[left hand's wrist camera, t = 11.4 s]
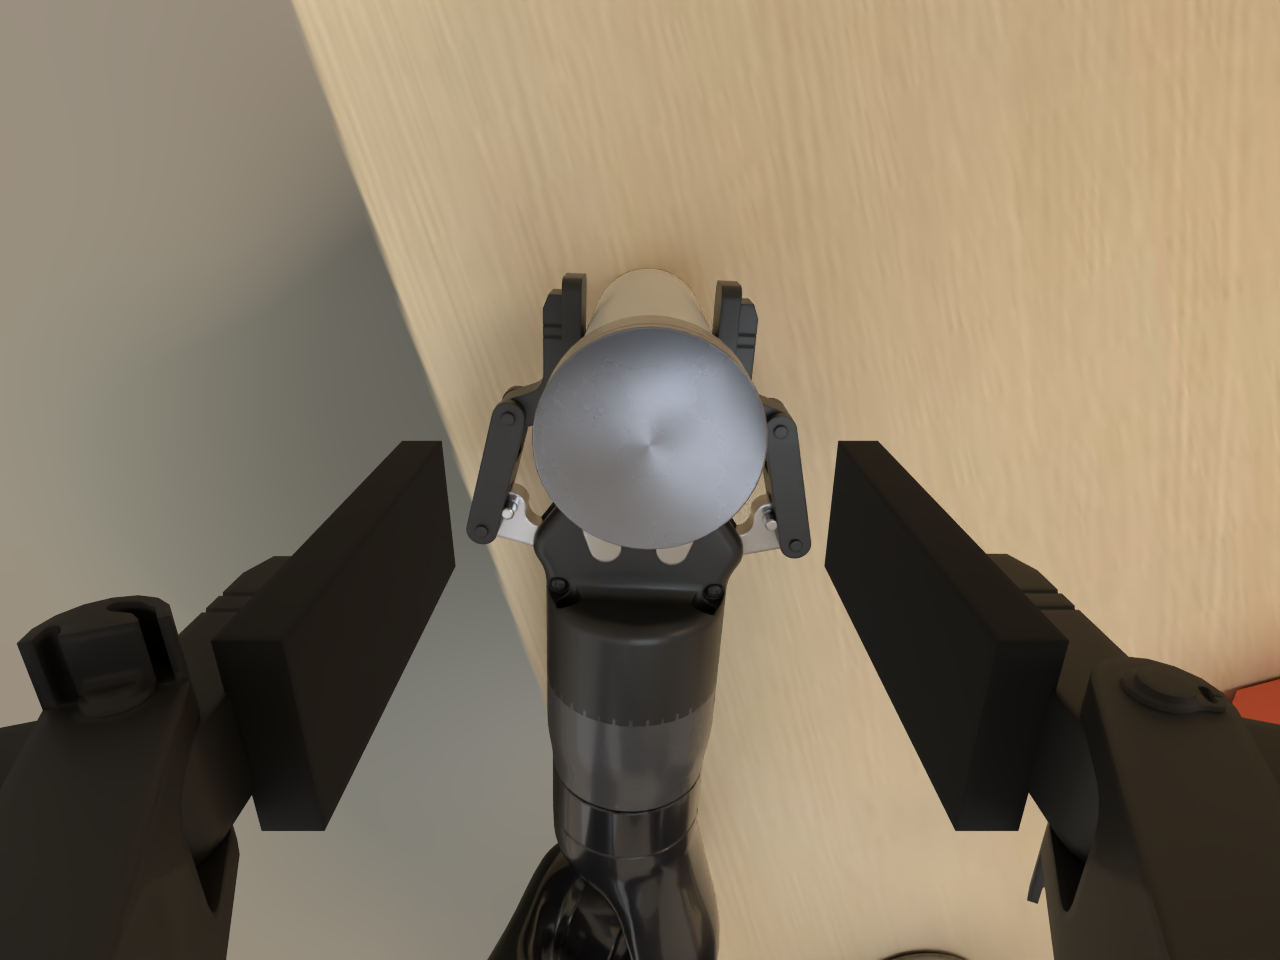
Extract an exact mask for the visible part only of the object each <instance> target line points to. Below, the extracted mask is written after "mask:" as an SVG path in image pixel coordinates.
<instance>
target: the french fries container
mask: <svg viewBox="0 0 1280 960" xmlns="http://www.w3.org/2000/svg"><path fill="white" fill-rule="evenodd" d="M1232 704H1233V705H1234V706H1235V707H1236V708H1237V710H1238V711H1239V713H1240V715H1241V717H1243V718H1249V719H1254V720H1259V721H1264V722H1269V723H1274V724H1280V679H1278V680H1275V681H1271V682H1267V683H1263V684H1259V685H1255V686H1252V687H1248V688H1244V689H1240V690H1237V692H1236V695H1235V697H1234V699H1233V702H1232Z"/></svg>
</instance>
